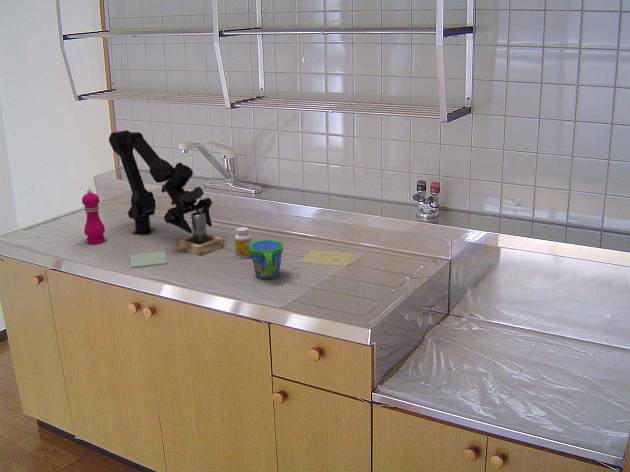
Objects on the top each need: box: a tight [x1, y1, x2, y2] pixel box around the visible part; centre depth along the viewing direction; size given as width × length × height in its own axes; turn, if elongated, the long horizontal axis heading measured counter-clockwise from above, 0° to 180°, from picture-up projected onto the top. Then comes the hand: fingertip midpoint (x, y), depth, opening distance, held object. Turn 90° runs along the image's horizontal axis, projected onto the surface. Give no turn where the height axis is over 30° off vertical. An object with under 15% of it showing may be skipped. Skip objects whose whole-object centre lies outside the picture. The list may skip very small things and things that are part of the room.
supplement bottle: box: [234, 226, 252, 259], centre depth 237 cm, size 5×5×10 cm
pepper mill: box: [81, 188, 106, 245], centre depth 254 cm, size 7×7×20 cm
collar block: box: [176, 233, 225, 257], centre depth 248 cm, size 12×12×3 cm
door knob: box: [191, 211, 208, 245], centre depth 246 cm, size 6×6×12 cm
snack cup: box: [249, 239, 284, 280], centre depth 219 cm, size 16×10×10 cm
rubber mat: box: [129, 250, 169, 269], centre depth 237 cm, size 12×12×1 cm
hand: (201, 229), depth 245 cm, fingers open, 9 cm apart
